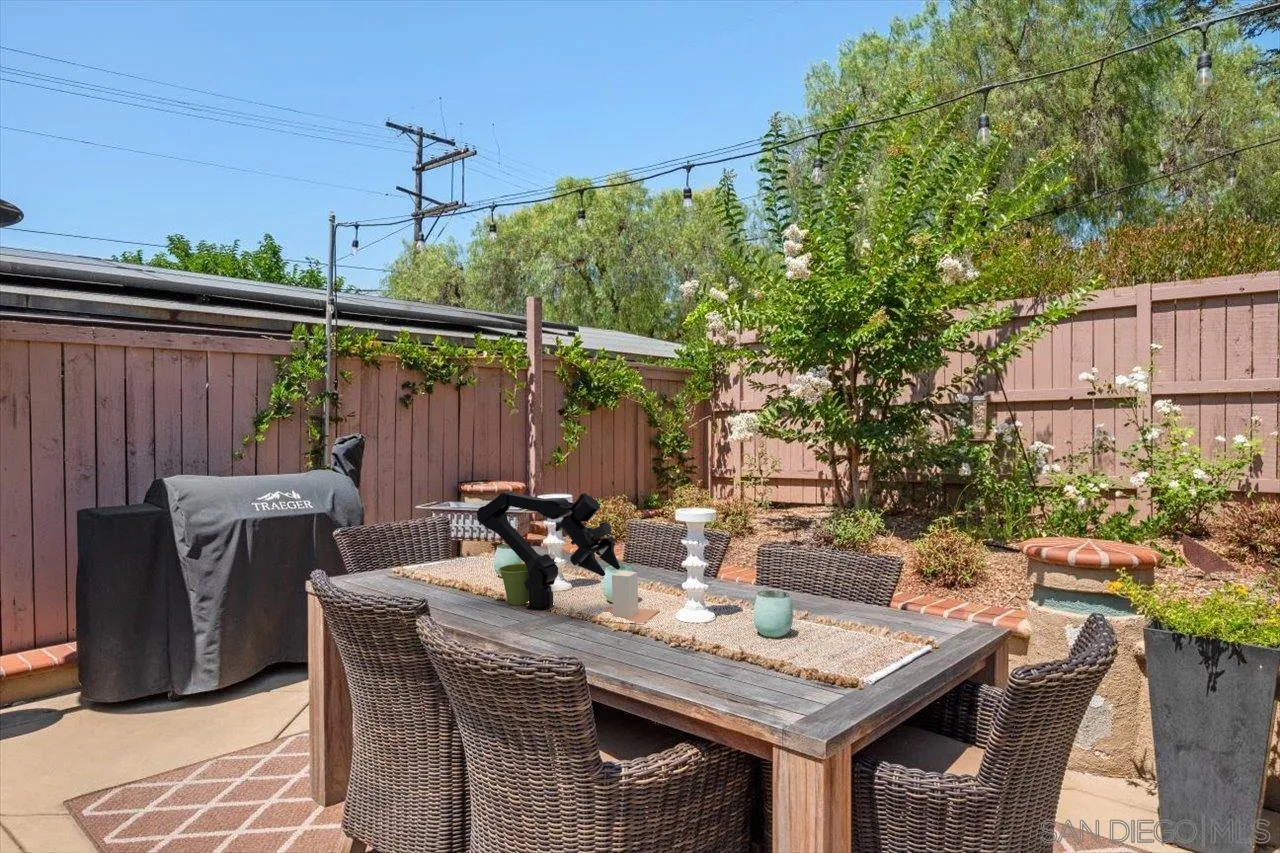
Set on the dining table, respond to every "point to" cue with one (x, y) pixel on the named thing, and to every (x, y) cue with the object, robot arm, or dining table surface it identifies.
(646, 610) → the terracotta mat
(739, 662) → the dining table surface
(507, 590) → the plant pot
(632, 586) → the cream block
